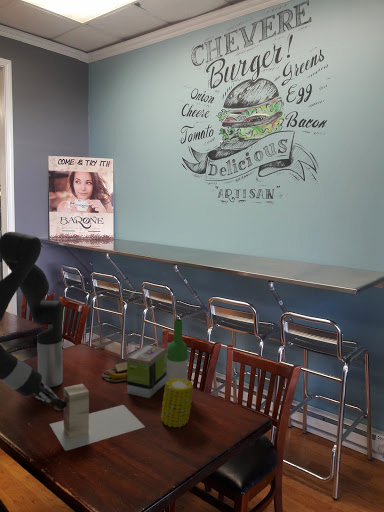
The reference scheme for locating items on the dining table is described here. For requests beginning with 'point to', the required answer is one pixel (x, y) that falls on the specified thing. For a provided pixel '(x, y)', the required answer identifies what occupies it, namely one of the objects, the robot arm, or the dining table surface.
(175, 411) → the food
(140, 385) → the tea box
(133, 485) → the dining table surface
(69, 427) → the maple block
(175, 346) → the wine bottle
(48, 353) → the robot arm
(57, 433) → the grey mat
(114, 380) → the toy sandwich meal
